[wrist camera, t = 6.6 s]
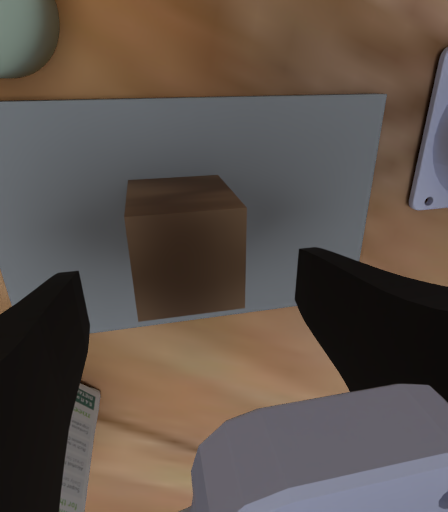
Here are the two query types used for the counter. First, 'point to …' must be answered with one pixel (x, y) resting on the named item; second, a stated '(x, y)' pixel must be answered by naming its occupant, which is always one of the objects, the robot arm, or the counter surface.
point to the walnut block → (185, 246)
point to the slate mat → (181, 165)
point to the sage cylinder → (27, 36)
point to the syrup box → (79, 450)
